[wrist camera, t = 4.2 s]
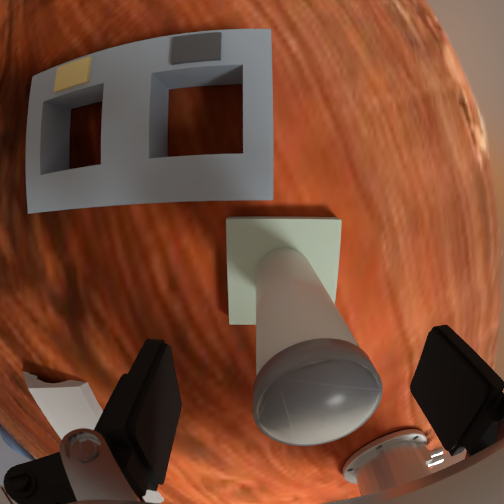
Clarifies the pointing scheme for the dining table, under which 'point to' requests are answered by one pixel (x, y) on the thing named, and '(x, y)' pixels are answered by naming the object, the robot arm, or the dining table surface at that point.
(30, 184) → the socket block
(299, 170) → the dining table surface
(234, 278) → the square base plate
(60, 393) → the crown molding
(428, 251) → the dining table surface
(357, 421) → the plug
